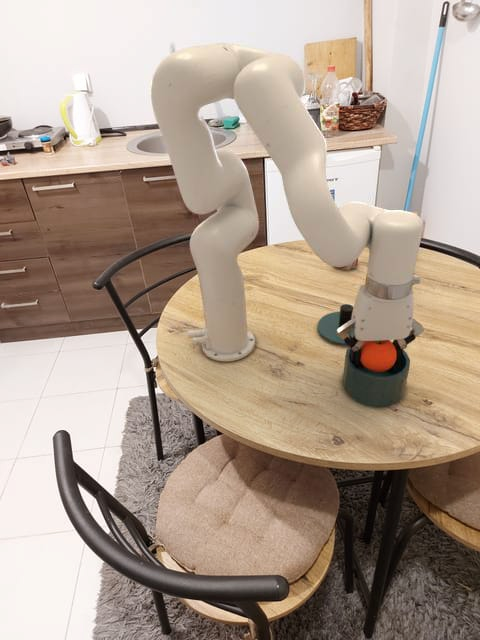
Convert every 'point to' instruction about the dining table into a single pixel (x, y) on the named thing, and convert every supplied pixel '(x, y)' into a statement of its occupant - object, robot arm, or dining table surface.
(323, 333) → the pot lid
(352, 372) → the pot
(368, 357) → the clementine
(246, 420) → the dining table surface
